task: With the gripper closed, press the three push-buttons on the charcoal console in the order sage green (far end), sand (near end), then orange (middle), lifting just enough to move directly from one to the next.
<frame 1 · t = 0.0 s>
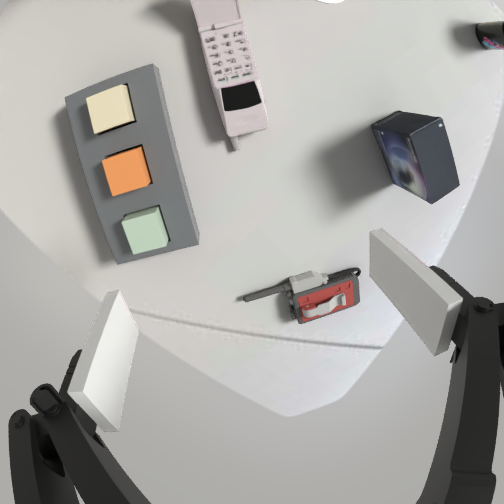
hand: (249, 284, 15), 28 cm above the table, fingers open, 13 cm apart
supplement container: (483, 36, 32), on the table
button console: (135, 164, 37), on the table
sage button: (147, 227, 38), point 4 cm above the table, slide at 0.0 cm
walkie-talkie: (304, 292, 51), on the table
small box: (395, 147, 41), on the table
sand button: (113, 109, 30), point 4 cm above the table, slide at 0.0 cm
mobile phone: (227, 59, 33), on the table
orange button: (128, 169, 34), point 4 cm above the table, slide at 0.0 cm
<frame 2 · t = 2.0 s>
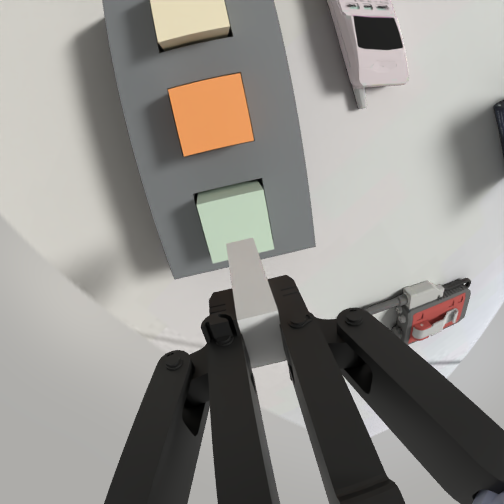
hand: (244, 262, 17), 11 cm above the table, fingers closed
button console: (211, 113, 23), on the table
sage button: (234, 216, 23), point 4 cm above the table, slide at 0.0 cm
walkie-talkie: (410, 306, 37), on the table
sand button: (189, 14, 16), point 4 cm above the table, slide at 0.0 cm
orange button: (211, 113, 19), point 4 cm above the table, slide at 0.0 cm
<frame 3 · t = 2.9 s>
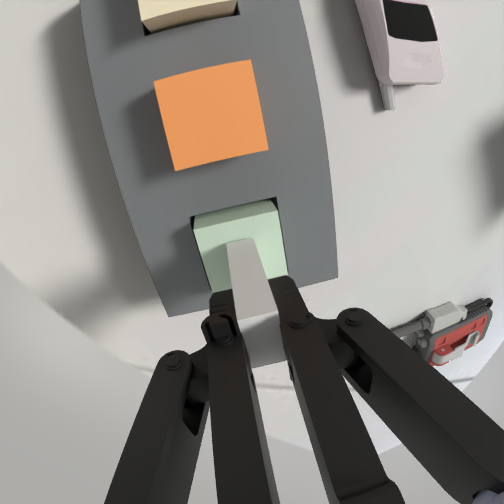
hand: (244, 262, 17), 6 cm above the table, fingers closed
button console: (211, 113, 18), on the table
sage button: (240, 240, 19), point 3 cm above the table, slide at 0.6 cm, touching gripper
walkie-talkie: (430, 328, 32), on the table
orange button: (211, 113, 15), point 4 cm above the table, slide at 0.0 cm
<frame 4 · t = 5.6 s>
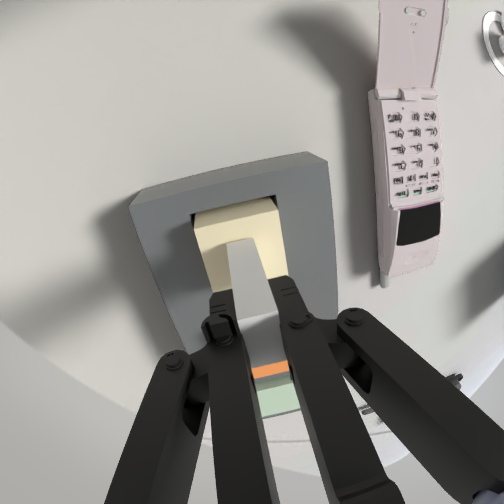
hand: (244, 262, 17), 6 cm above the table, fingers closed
button console: (255, 305, 26), on the table
sage button: (274, 382, 27), point 2 cm above the table, slide at 1.3 cm
sand button: (240, 240, 19), point 4 cm above the table, slide at 0.3 cm, touching gripper
mobile phone: (396, 146, 22), on the table
orange button: (262, 334, 23), point 4 cm above the table, slide at 0.0 cm
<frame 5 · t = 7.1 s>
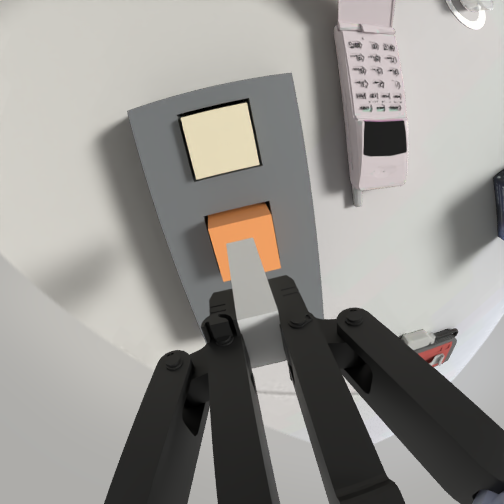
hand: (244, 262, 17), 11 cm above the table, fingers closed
button console: (238, 219, 28), on the table
walkie-talkie: (404, 348, 42), on the table
white candle holder: (476, 8, 19), on the table
sand button: (219, 137, 22), point 2 cm above the table, slide at 1.3 cm
mobile phone: (362, 76, 23), on the table
orange button: (243, 236, 25), point 4 cm above the table, slide at 0.0 cm
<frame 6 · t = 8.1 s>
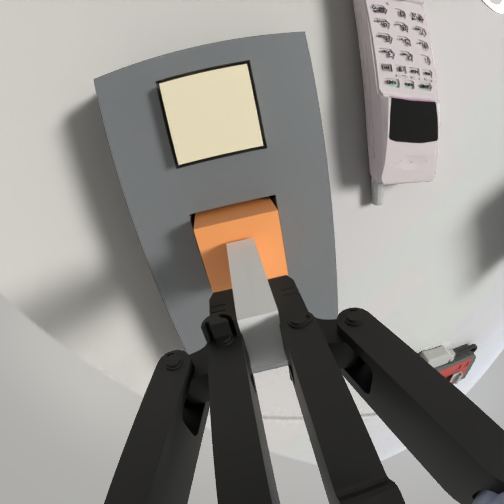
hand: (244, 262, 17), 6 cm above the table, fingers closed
button console: (235, 220, 22), on the table
walkie-talkie: (421, 366, 36), on the table
sand button: (211, 112, 16), point 2 cm above the table, slide at 1.3 cm
mobile phone: (384, 50, 18), on the table
orange button: (240, 240, 19), point 4 cm above the table, slide at 0.2 cm, touching gripper
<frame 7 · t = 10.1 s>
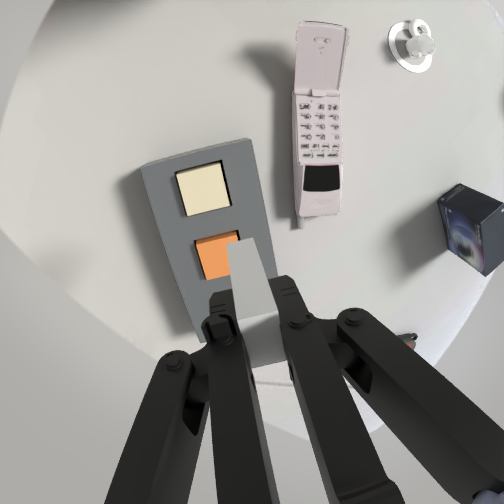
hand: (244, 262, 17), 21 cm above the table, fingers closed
button console: (219, 242, 38), on the table
white candle holder: (424, 51, 31), on the table
small box: (453, 217, 42), on the table
sand button: (203, 185, 33), point 2 cm above the table, slide at 1.3 cm
mobile phone: (312, 129, 34), on the table
orange button: (220, 250, 36), point 2 cm above the table, slide at 1.3 cm
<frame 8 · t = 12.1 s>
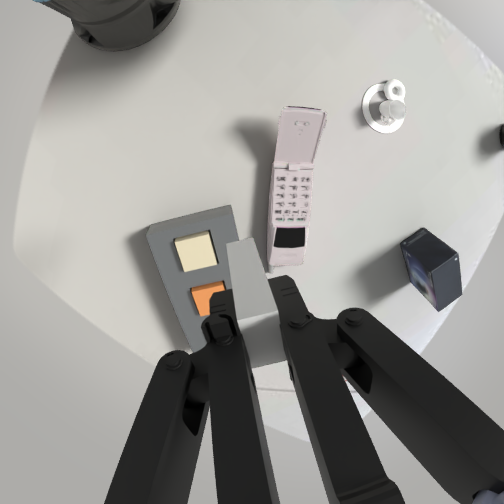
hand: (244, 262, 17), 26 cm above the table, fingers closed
button console: (210, 284, 48), on the table
white candle holder: (398, 109, 40), on the table
small box: (416, 255, 52), on the table
sand button: (196, 246, 42), point 2 cm above the table, slide at 1.3 cm
mobile phone: (287, 193, 44), on the table
orange button: (210, 292, 46), point 2 cm above the table, slide at 1.3 cm
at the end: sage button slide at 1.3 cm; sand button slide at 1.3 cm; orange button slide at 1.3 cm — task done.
